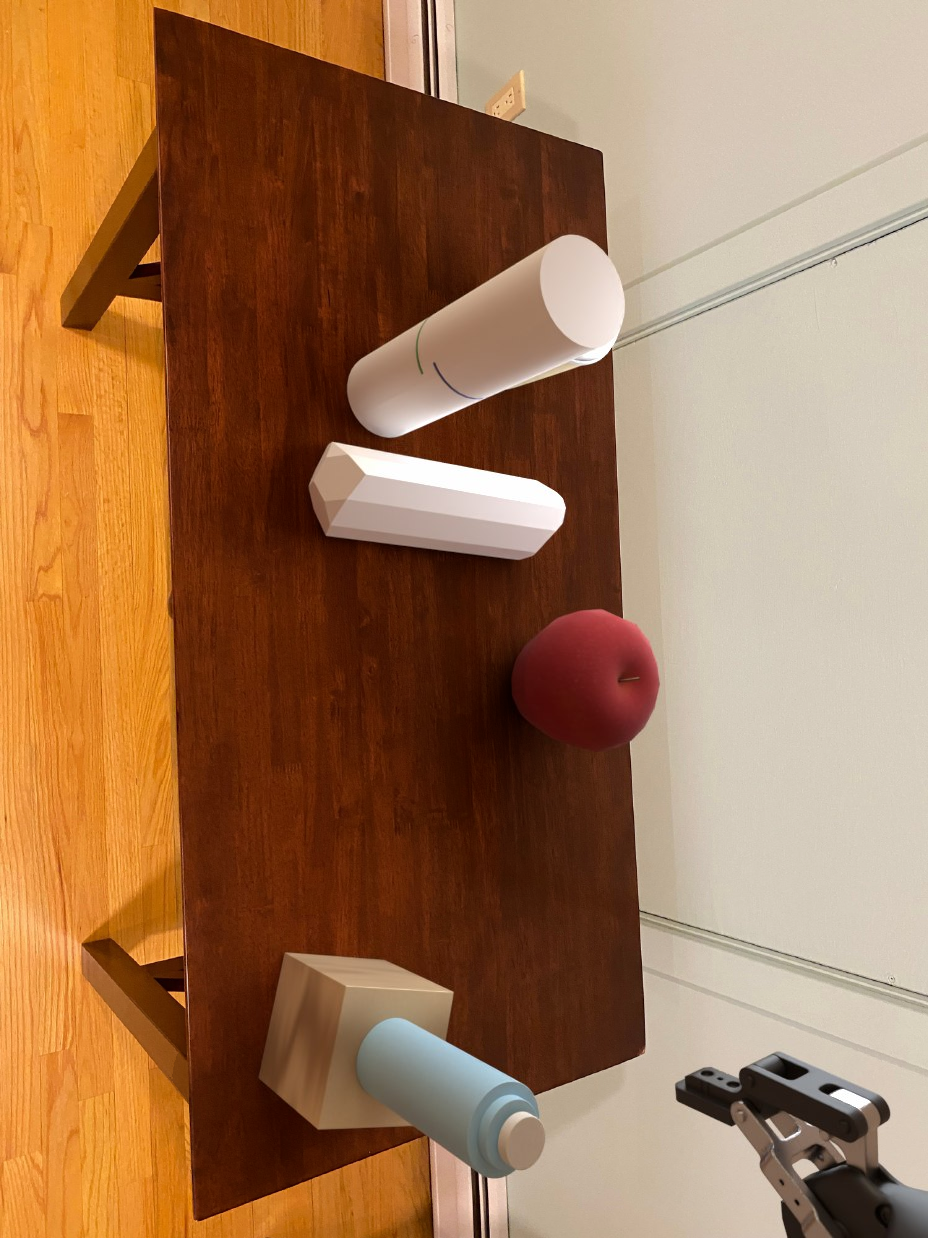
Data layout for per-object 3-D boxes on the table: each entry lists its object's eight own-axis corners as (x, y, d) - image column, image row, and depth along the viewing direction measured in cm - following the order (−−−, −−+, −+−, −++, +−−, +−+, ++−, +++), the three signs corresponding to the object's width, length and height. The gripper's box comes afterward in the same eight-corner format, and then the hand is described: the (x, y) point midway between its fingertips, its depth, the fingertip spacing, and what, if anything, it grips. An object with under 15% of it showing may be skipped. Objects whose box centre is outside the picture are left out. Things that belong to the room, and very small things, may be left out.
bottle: (413, 1097, 65) (553, 1191, 52) (349, 1098, 62) (481, 1198, 50) (427, 1019, 66) (568, 1093, 53) (364, 1016, 63) (497, 1094, 51)
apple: (499, 600, 85) (600, 586, 74) (591, 638, 91) (697, 630, 80) (471, 729, 82) (571, 734, 71) (568, 759, 88) (674, 768, 77)
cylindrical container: (379, 453, 78) (579, 367, 58) (331, 379, 76) (520, 263, 56) (434, 411, 82) (640, 316, 61) (389, 339, 80) (588, 216, 59)
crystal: (561, 457, 85) (321, 406, 71) (587, 518, 81) (341, 477, 68) (517, 508, 90) (285, 470, 76) (540, 568, 86) (301, 539, 72)
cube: (362, 1078, 74) (431, 1126, 65) (257, 1078, 69) (317, 1130, 60) (384, 960, 75) (454, 992, 67) (284, 952, 71) (345, 985, 62)
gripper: (967, 1197, 32) (628, 1050, 45) (1005, 1630, 31) (650, 1352, 45) (1065, 1121, 36) (729, 1007, 49) (1100, 1500, 36) (751, 1282, 49)
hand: (692, 1171), depth 47 cm, fingers open, 8 cm apart
